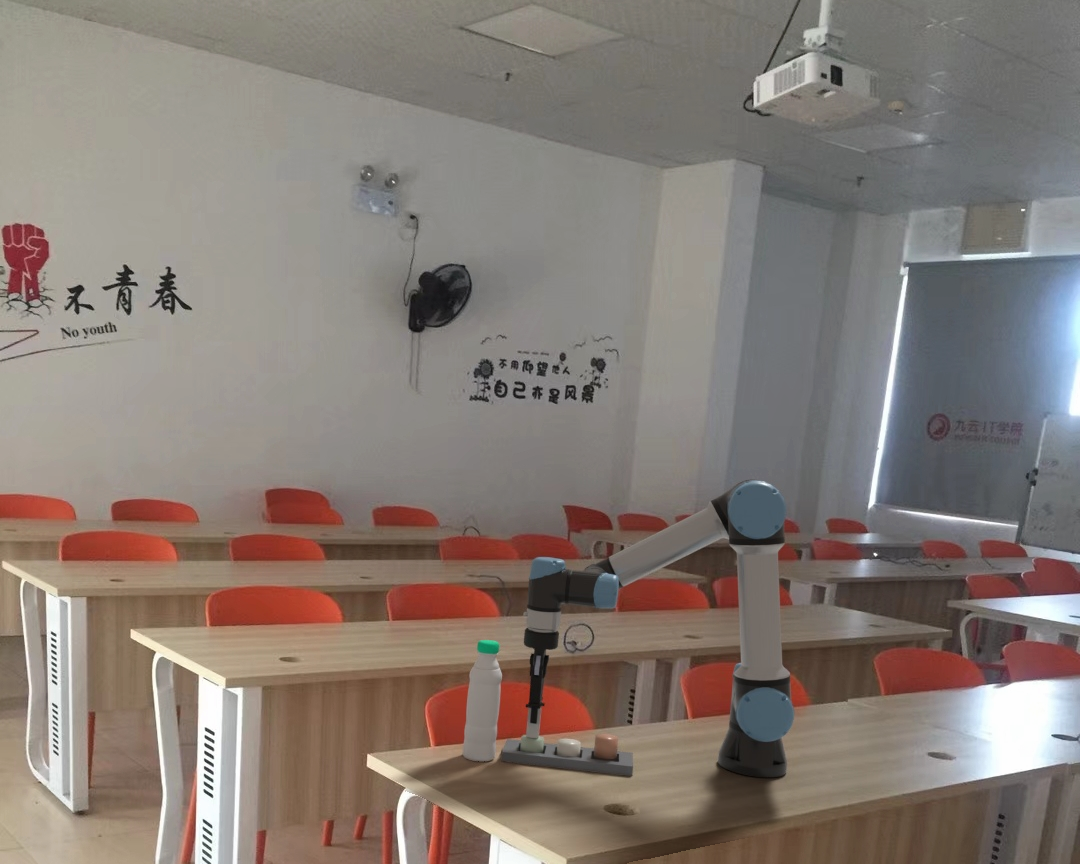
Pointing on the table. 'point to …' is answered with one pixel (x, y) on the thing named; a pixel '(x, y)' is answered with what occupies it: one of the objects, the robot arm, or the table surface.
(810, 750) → the table surface
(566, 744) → the button ivory
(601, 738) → the button terracotta
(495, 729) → the water bottle
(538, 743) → the button sage
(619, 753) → the panel
